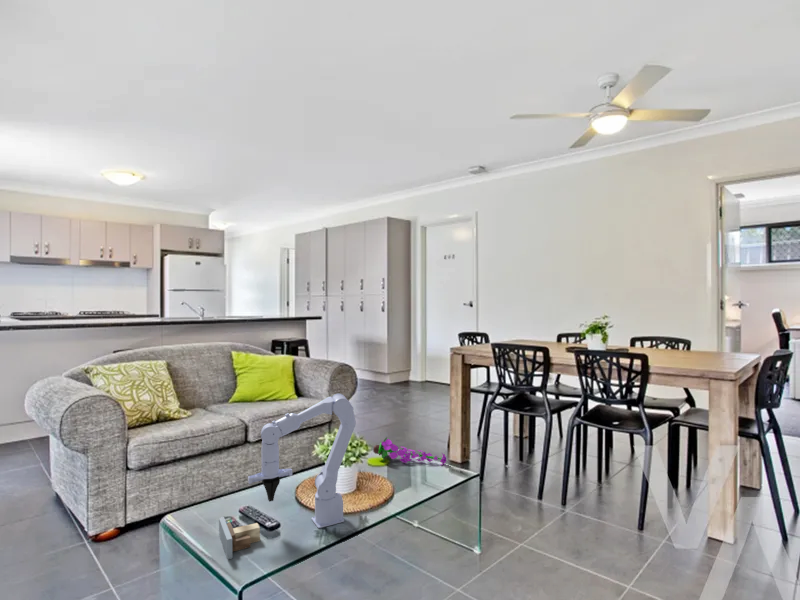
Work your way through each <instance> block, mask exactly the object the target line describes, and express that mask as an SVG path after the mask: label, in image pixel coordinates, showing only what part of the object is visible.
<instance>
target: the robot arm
mask: <svg viewBox="0 0 800 600" xmlns="http://www.w3.org/2000/svg"><path fill="white" fill-rule="evenodd" d="M323 414H324V415H325V414H326V415H330V416H331V415H333V414H335V416H336V417H338V420H339V422H340V425H339V427H338V430H337V433H336V435H335V438H334V440H333V443H332V446H331V449H330V452H329V454H328V457H327V458H326V462H325V464H324V466H322V468H321V471H320V472H319V473H318V474H317V476H316V477H315V479H314V486H315V487H316V488H315V489H316V492H315V494H314V516H312V517H311V518H310V520H311V521H312V522H313V523H314V525H315V526H316V527H317V528H318V529H322V528H326V527H329V526H332V525H333V526H334V525H336V524H340V523H344V522H345V519H344V500H343V496H342V494H341V493H340V492H337V482H338V477H339V470H340V468H341V465H342V462H343V459H344V457H345V454H346V452H347V450H348V449H347V448H348V446H349V444H350V441H351V438H352V435H353V433H354V431H355V427H356V425H357V422H356V417H355V412H354V406H353V405H352V403H351V402H350V400H348V398H347V397H346V396H345V395H344V394H343V393H335V394H333V395H332V396H327V397H326V398H323V399H322V400H321V401H319V402H317V403H315V404H313V405H311V406H310V407H308V408H306V409H304V410H302V411H300V412H299V413H294V412H290V413H289V412H288V413H285V414H284V416H282V417H281V418H278V419H277V420H272V421H271V423H270V422H269V423H266V424H264V425H263V427H262V428H261V430H260V437H261V440H262V441H261V450H260V452H261V454H260V455H261V472H258V473H254V474H252V475H248V476H247V483H248V484H249V485H251V484H253V483H257V482H262V484H263V487H264V489H265V492H266V496H267V501H268V502H274V501H275V500H274V499H275V495H276V491H277V489H278V487H279V485H280V482H281V481H280V480H281V479H280V478H282V477H291V476H292V477H293V469H292V468H280V446H279V440H280V438H281V437H282V438H283V437H284V436H286V435H288V434H290V433H292V432H294V431H296V430H298V429H300V427H301V424H302V423H304V422H306V421H309V420H311V419H313V418H316V417H317V416H321V415H323Z"/></svg>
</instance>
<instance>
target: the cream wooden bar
mask: <svg viewBox="0 0 800 600" xmlns="http://www.w3.org/2000/svg"><path fill="white" fill-rule="evenodd" d="M241 526H242V527H240V526H237V528H236V527H232V528H233V530H234V533H235V538H238V537H242V536H246V535H249V536H250V544H252V543H257V542H261V533H260V532H261V527H260V524H259V523H258V522H255V523H251V524H246V525H245V526H244V525H241Z"/></svg>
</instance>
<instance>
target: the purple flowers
mask: <svg viewBox="0 0 800 600" xmlns="http://www.w3.org/2000/svg"><path fill="white" fill-rule="evenodd" d="M399 447H400V448H402V449H399ZM399 447H398V446H397V445H396V444H394V443H393V442H392V440H391V439H389V438H388V437H385V439H384V440H383V441H380V442H379V444H375V445H374V446H373V449H372V451H373V453H374V454H376V455H378V456H381V458H382V460H383V462H385V457H387V456H388V457H390V458H391V459H392V460H394V459H396V458H398V456H399V457H400V458H398V460H399V461H401V463H403V464H407V463H408V462H410V461H411V462H412V460H413V459H415V461H417V462H423V461H425V460H427V462H429V463H431V462H434V461H438V460H439V461H440V463H441V464H440V466H442V465H443V466H444V465H445V463H447V457H446V455H445V453H443V452H441V454H442V456H441V457H439V456H438V455H437V454H435V455H434V456H433V454H432V453H431V452H428V453H426V451H424V450H421V449H417V451H418V452H419V453H417V452H416V451H415V450H414V449H409V448H407V447H405V446H399ZM388 453H389V454H388ZM416 458H417V459H416Z"/></svg>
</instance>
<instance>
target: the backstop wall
mask: <svg viewBox="0 0 800 600" xmlns="http://www.w3.org/2000/svg"><path fill="white" fill-rule="evenodd" d="M218 537H219V540H220V543H221V546H222V548H223V551H224V554H225V556H226V557H225V558H226V560H230V559H231V560H232V559H233V552H232V537H231V534H230V531H229V529H228V526H227V522H226V519H225V517H224V516H222V517H218Z"/></svg>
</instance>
